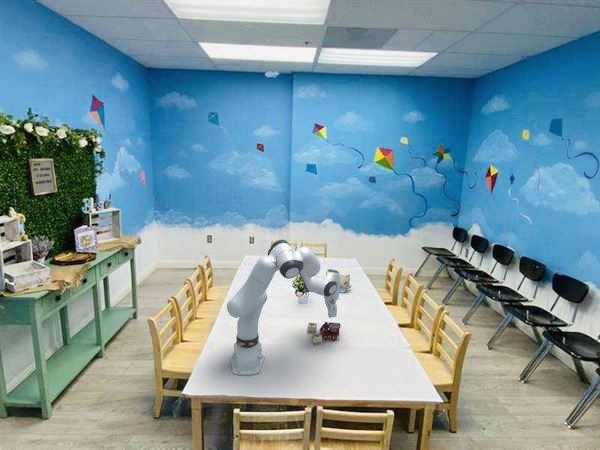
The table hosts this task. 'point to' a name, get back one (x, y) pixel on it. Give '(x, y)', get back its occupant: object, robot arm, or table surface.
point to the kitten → (344, 283)
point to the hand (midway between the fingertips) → (329, 316)
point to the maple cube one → (316, 339)
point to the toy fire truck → (330, 331)
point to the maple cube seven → (312, 328)
